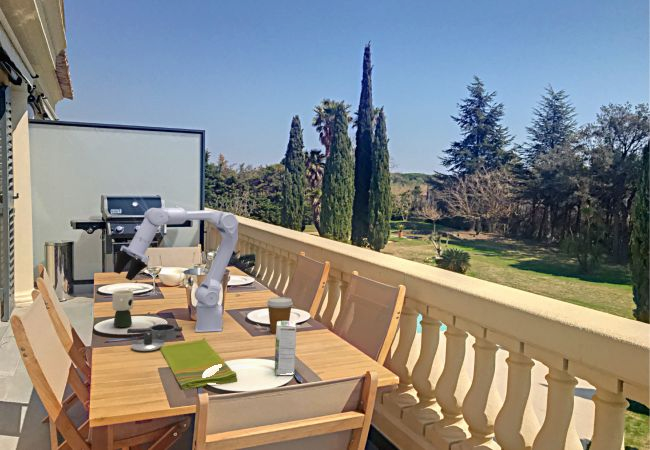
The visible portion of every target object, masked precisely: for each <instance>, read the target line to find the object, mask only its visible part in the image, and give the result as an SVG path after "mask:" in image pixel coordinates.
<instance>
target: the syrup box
mask: <svg viewBox="0 0 650 450" xmlns="http://www.w3.org/2000/svg"><path fill="white" fill-rule="evenodd" d="M296 343H297V322H296V321H290V320H289V321H277V329H276V334H275V343H274V345H275V348H274V376H277V375H280V374H286V373H292V372H293V373H294V374H295V370H296V369H295V368H296V367H295V366H296V346H297V345H296ZM277 377H278V376H277Z"/></svg>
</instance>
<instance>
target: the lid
mask: <svg viewBox="0 0 650 450" xmlns="http://www.w3.org/2000/svg"><path fill="white" fill-rule="evenodd" d="M163 346H165V341H162V340H159V339H152V332H150V331H148V332H144V333H143V339H138V340H135V341H133V342H132V343H131V349H133V350H134V351H138V352H139V351H141V352H150V351H155V350H158V349H159V350H160V348H162V347H163Z"/></svg>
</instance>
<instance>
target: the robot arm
mask: <svg viewBox="0 0 650 450" xmlns="http://www.w3.org/2000/svg"><path fill="white" fill-rule="evenodd" d="M143 215H144V216H143V217H144V219H143V221H142V222H141V224H140V225H139V228H138V229H137V231H136V232H135V234H134V237H133V238H132V240H131V242H130V243H129V245H128V246H125V245H121V247H120V251H119V250H117V251H116V261H115V266H114V269H113V273H115V274H118V275H120V274H121V273H122V272H123V271H124V269H125V267H126V266H127V264H129V262H130V261H131V262H130V265H129V268H128V271H127V273H126V276H125V279H126V280H128V281H131V282H132V281H133V280H134V278H135V277H136V276H138V274H139V273H140V272H142V271H143V270H144V269H145V268H147V267H148V263H149V261H150V257H148V256H145V254H146V252H147V251H148V248H149V247H150V246H151V243H152V242H153V240H154V238H155V236H156V234H157V232H158V230H159V228H160V226H163V225H183V224H184V223H185V222H186V221H208V222H209V223H212V226H213V227H215V228H216V229H217V231H219V234H220V235H221V238H222V240H221V243H219V244H220V245H219V247H218V250H217V251H216V254H215V257H214V259H213V261H212V263H211V266H210V269H209V270H208V273H207V276H206V277H205V278H204V279H203V280H202V281H201V283H200V285H199V286H198V287H197V288H196V289H195V292H194V298H195V300H196V301H197V303H196V324H195V326H194V328H195V333H205V332H206V333H207V332H208V333H210V332H223V324H224V322H223V305H222V304H218V303H219V301H220V292H221V291H222V290H221V289H222V288H221V281H222V278H223V277H224V275H225V272H226V269H227V267H228V265H229V262H230V261H231V260H230V259H231V258H232V255H233V252H234V250H235V248H236V246H237V243H238V240H239V229H238V228H239V227H238V226H239V224H240V223H239V220H238V218H237V217H236V215H235V214H234V213H232V212H227V211H220V210H219V211H218V210H212V209H204V210H202V209H201V210H186V209H184V208H183V207H180V205H175V206H174V207H166V206H161V207H158V208H157V207H150V208H149V209H147V210H146V211H145V212H144V214H143Z"/></svg>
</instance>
